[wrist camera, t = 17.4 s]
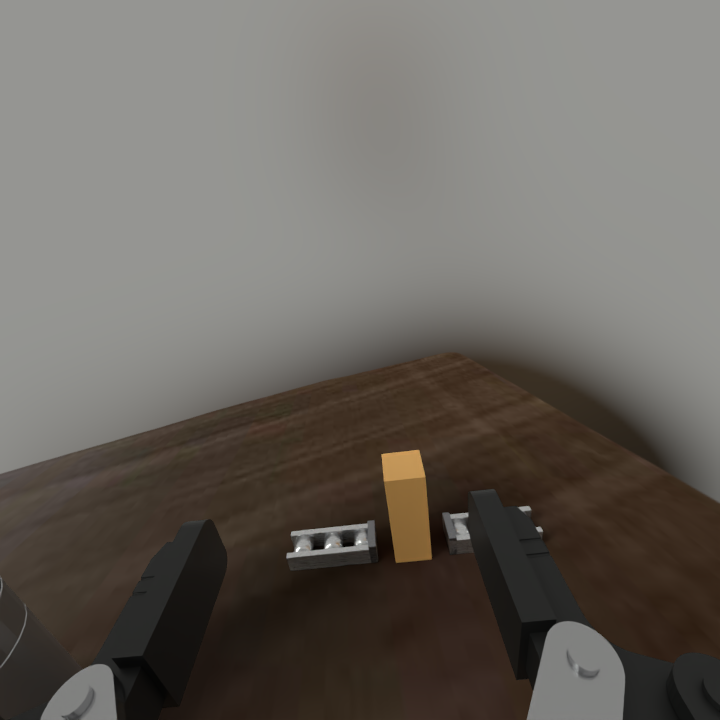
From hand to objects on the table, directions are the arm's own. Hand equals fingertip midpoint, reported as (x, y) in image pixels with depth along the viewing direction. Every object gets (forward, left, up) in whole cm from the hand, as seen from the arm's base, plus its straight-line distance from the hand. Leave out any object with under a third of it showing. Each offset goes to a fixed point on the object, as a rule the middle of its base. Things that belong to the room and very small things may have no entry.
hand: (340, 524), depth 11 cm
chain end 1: (-6, +20, -28) cm, 35 cm away
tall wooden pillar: (+3, +20, -28) cm, 35 cm away
